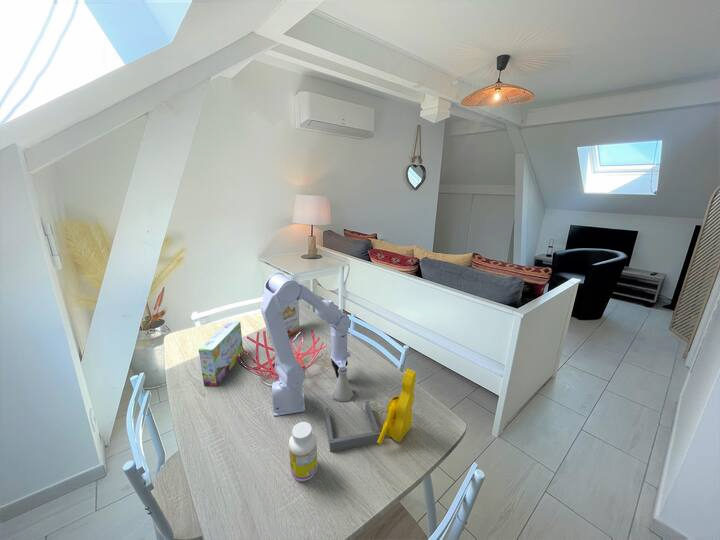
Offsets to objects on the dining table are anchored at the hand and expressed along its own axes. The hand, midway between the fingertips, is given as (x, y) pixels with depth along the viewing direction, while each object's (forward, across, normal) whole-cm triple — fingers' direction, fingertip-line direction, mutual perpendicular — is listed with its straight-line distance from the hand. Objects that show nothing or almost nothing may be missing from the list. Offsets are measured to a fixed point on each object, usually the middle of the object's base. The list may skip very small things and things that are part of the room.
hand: (339, 376), depth 103 cm
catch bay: (+2, -21, 0) cm, 21 cm away
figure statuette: (+2, -26, -13) cm, 29 cm away
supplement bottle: (+2, -31, +14) cm, 34 cm away
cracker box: (+2, +38, +20) cm, 43 cm away
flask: (+2, -7, 0) cm, 8 cm away
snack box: (+2, +17, +42) cm, 45 cm away
